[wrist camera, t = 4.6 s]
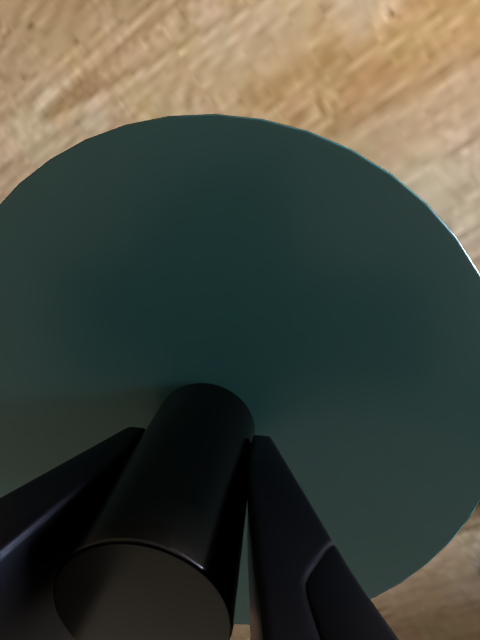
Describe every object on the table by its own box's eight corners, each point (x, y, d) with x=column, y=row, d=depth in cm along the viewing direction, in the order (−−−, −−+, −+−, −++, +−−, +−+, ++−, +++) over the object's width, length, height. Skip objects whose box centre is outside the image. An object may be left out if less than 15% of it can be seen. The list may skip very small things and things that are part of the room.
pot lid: (228, -37, 7) (77, -796, 2) (595, 445, 9) (1031, 760, 4) (-106, 371, 11) (-465, 516, 6) (205, 645, 13) (154, 938, 8)
